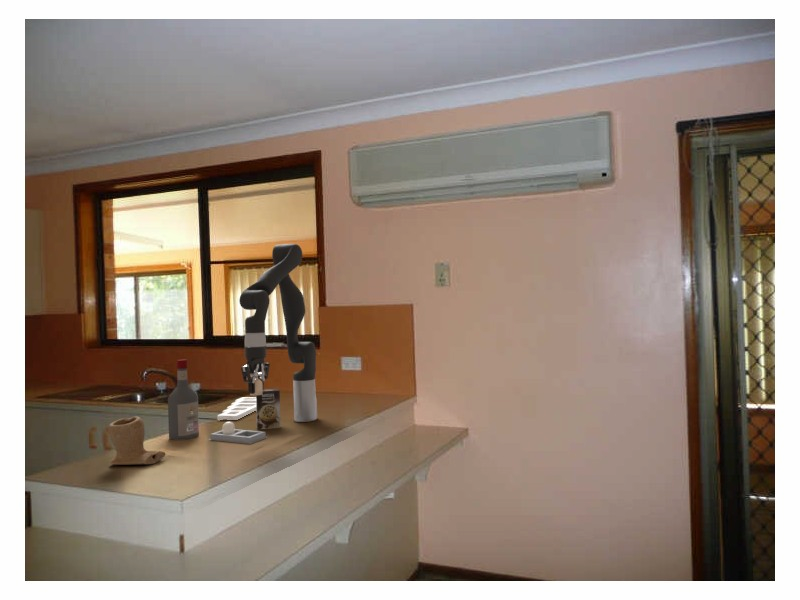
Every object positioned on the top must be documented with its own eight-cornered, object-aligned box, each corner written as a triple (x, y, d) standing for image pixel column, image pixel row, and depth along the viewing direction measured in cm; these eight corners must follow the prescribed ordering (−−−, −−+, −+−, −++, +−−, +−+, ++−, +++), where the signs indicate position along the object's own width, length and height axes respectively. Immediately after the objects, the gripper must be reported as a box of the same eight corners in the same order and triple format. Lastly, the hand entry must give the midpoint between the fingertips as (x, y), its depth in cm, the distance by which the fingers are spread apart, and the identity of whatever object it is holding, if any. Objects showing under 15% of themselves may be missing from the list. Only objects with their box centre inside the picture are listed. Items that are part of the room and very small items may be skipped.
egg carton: (227, 437, 215) (227, 428, 215) (268, 441, 207) (267, 431, 207) (208, 443, 206) (207, 434, 206) (250, 448, 198) (250, 438, 198)
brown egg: (255, 393, 209) (255, 377, 209) (265, 393, 207) (264, 377, 207) (247, 395, 205) (247, 379, 205) (257, 395, 203) (257, 379, 203)
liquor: (202, 438, 214) (200, 359, 213) (182, 444, 206) (179, 361, 206) (186, 436, 218) (183, 358, 218) (165, 442, 210) (163, 360, 210)
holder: (236, 421, 245) (236, 415, 245) (198, 421, 248) (197, 415, 248) (276, 402, 289) (276, 397, 289) (242, 402, 292) (242, 397, 292)
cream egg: (228, 435, 211) (227, 420, 211) (237, 436, 209) (237, 420, 209) (219, 438, 207) (219, 422, 207) (229, 439, 205) (229, 423, 205)
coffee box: (257, 433, 220) (255, 391, 220) (256, 429, 226) (255, 389, 226) (281, 431, 222) (279, 390, 222) (280, 427, 229) (278, 387, 228)
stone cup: (100, 469, 178) (98, 421, 178) (124, 458, 189) (123, 413, 189) (144, 470, 175) (143, 421, 175) (166, 459, 187) (165, 413, 187)
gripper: (259, 344, 214) (260, 389, 214) (233, 346, 201) (234, 395, 201) (275, 344, 211) (276, 390, 211) (251, 346, 198) (252, 396, 198)
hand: (256, 392), depth 206 cm, fingers closed on brown egg, 4 cm apart
